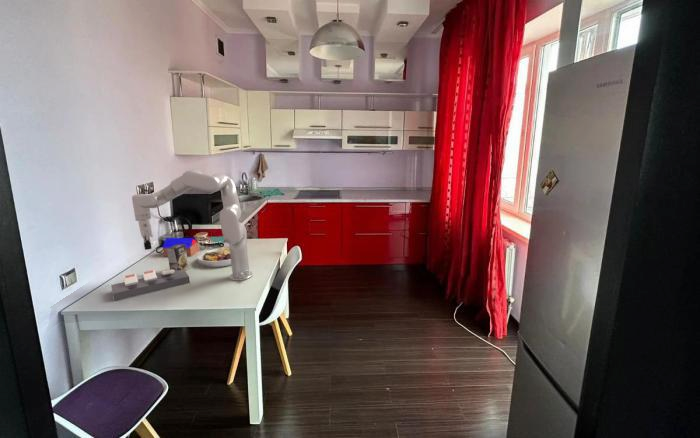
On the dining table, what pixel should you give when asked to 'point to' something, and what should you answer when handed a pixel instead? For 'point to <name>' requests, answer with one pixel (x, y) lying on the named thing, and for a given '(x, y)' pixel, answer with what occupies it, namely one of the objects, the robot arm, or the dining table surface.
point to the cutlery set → (217, 240)
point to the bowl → (215, 257)
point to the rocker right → (167, 272)
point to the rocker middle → (149, 275)
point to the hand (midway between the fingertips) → (148, 248)
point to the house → (190, 243)
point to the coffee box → (177, 257)
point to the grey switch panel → (150, 285)
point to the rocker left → (130, 280)
